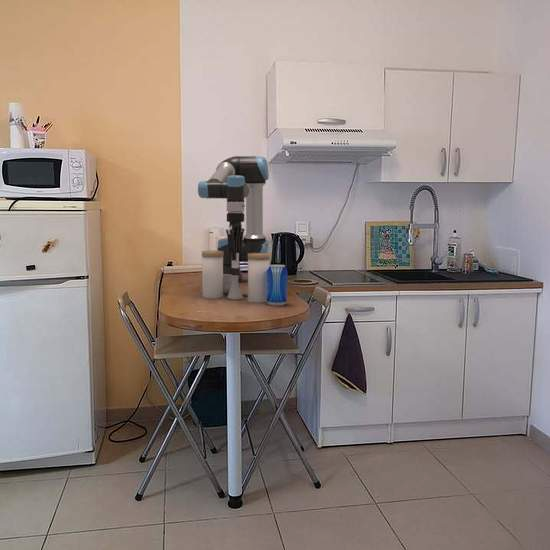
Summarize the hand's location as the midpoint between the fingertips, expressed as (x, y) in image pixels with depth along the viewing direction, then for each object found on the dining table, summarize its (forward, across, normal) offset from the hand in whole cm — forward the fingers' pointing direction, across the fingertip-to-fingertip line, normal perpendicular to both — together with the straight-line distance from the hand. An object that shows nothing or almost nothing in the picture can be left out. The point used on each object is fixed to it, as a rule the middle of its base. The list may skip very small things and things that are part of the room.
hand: (235, 267), depth 233 cm
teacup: (+14, +14, +14) cm, 24 cm away
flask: (+14, 0, 0) cm, 14 cm away
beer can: (+14, -4, -21) cm, 25 cm away
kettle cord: (+13, +7, 0) cm, 15 cm away
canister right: (+13, 0, -11) cm, 17 cm away
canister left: (+13, 0, +11) cm, 17 cm away
